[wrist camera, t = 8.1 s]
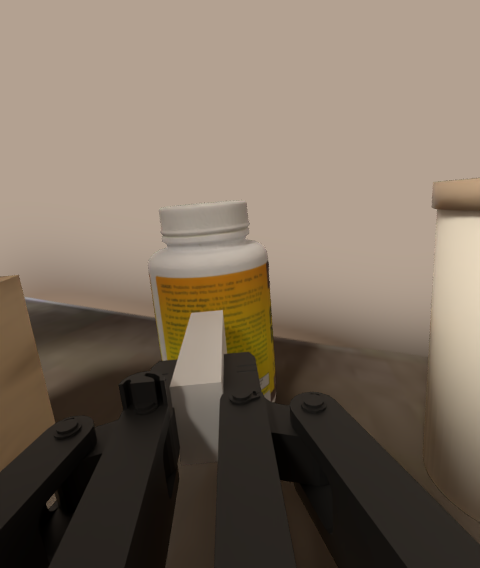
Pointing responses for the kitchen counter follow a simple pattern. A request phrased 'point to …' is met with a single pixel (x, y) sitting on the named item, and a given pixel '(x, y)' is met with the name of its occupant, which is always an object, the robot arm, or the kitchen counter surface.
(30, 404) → the beech block
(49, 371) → the kitchen counter surface
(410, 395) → the kitchen counter surface
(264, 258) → the supplement bottle
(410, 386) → the kitchen counter surface
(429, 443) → the cream jar
